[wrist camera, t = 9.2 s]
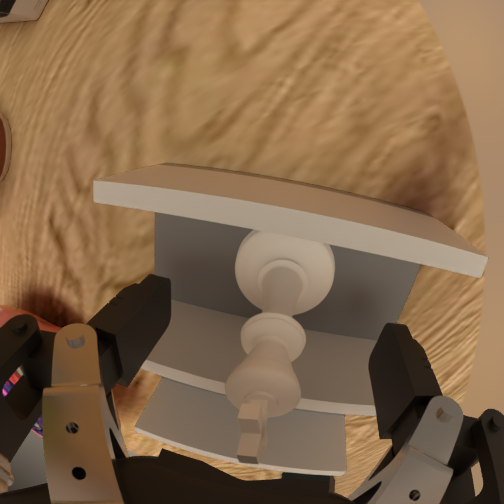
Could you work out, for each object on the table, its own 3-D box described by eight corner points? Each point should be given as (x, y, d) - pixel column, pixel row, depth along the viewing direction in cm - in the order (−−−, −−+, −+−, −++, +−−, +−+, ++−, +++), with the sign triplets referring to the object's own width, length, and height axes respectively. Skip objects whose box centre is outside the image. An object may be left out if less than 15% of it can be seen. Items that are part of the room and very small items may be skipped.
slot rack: (166, 162, 14) (93, 180, 9) (427, 213, 13) (488, 257, 7) (167, 375, 20) (136, 432, 15) (340, 411, 19) (341, 475, 13)
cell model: (173, 425, 24) (132, 514, 13) (52, 388, 28) (10, 440, 17) (104, 276, 18) (-10, 378, 7) (-5, 278, 22) (-69, 325, 12)
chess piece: (333, 216, 13) (387, 390, 3) (334, 307, 14) (347, 492, 5) (229, 223, 14) (104, 373, 4) (243, 310, 15) (179, 478, 6)
